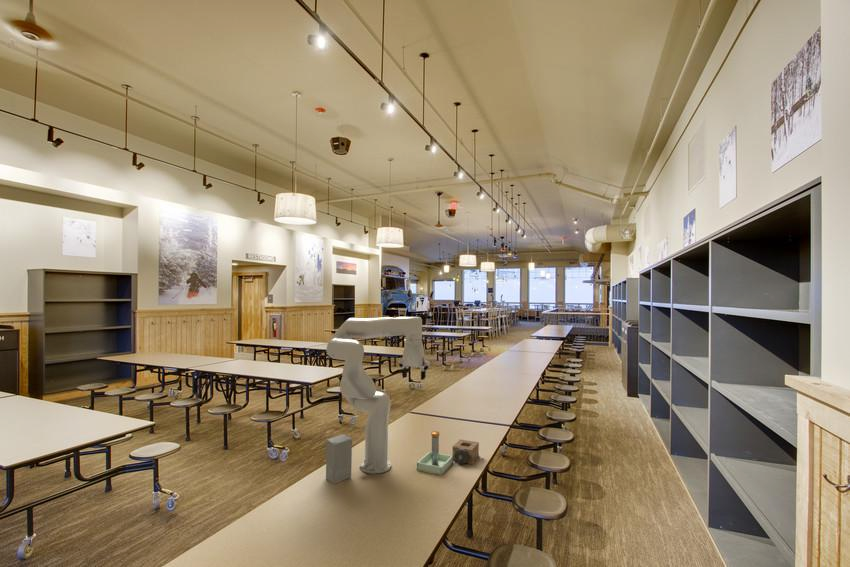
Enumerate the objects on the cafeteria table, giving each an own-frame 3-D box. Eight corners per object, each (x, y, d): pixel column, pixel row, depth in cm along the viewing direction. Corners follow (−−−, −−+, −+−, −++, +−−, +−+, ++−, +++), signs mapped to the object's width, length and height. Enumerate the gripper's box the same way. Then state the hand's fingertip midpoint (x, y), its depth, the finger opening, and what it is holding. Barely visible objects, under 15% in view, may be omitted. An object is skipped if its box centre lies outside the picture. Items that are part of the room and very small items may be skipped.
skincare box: (342, 472, 157) (343, 433, 158) (352, 478, 152) (353, 437, 152) (324, 479, 151) (325, 438, 152) (334, 485, 146) (334, 442, 146)
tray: (441, 475, 155) (441, 467, 155) (416, 469, 160) (416, 462, 160) (452, 462, 167) (452, 455, 167) (429, 458, 172) (429, 451, 172)
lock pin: (437, 467, 161) (437, 434, 162) (429, 465, 163) (429, 433, 163) (440, 464, 164) (440, 432, 165) (432, 462, 166) (433, 430, 166)
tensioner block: (470, 466, 164) (470, 452, 164) (450, 462, 167) (450, 448, 168) (478, 455, 175) (478, 442, 175) (459, 452, 179) (460, 439, 179)
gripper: (394, 342, 185) (394, 378, 184) (427, 344, 178) (426, 381, 177) (401, 340, 192) (401, 375, 191) (433, 342, 184) (433, 378, 184)
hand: (413, 378), depth 184 cm, fingers open, 9 cm apart
